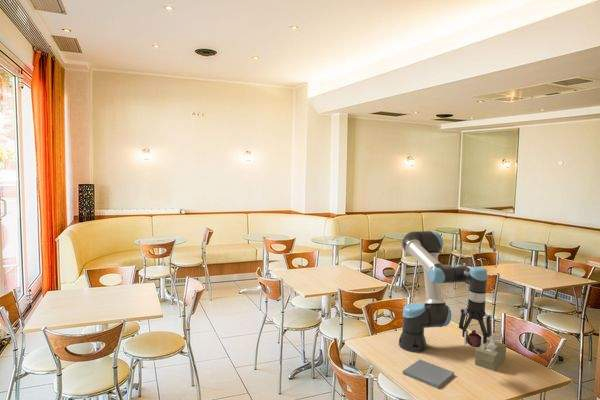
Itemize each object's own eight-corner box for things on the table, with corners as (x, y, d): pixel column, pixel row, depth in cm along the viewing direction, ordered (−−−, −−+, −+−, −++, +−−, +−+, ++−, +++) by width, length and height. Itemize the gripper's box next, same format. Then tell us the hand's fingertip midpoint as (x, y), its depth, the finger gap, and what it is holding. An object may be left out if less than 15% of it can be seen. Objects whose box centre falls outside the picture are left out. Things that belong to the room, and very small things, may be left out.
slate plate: (402, 373, 193) (402, 370, 193) (419, 362, 206) (419, 359, 205) (438, 388, 181) (438, 385, 181) (454, 375, 193) (454, 372, 193)
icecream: (487, 341, 183) (482, 331, 198) (471, 335, 185) (466, 325, 200) (482, 355, 184) (477, 344, 198) (466, 349, 186) (462, 338, 200)
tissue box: (494, 371, 197) (496, 341, 196) (474, 365, 204) (475, 335, 203) (505, 358, 211) (507, 329, 210) (486, 352, 218) (487, 324, 217)
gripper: (452, 296, 193) (450, 342, 195) (496, 307, 180) (493, 356, 182) (458, 293, 199) (456, 337, 201) (501, 303, 185) (498, 351, 187)
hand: (473, 346), depth 191 cm, fingers closed on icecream, 7 cm apart
